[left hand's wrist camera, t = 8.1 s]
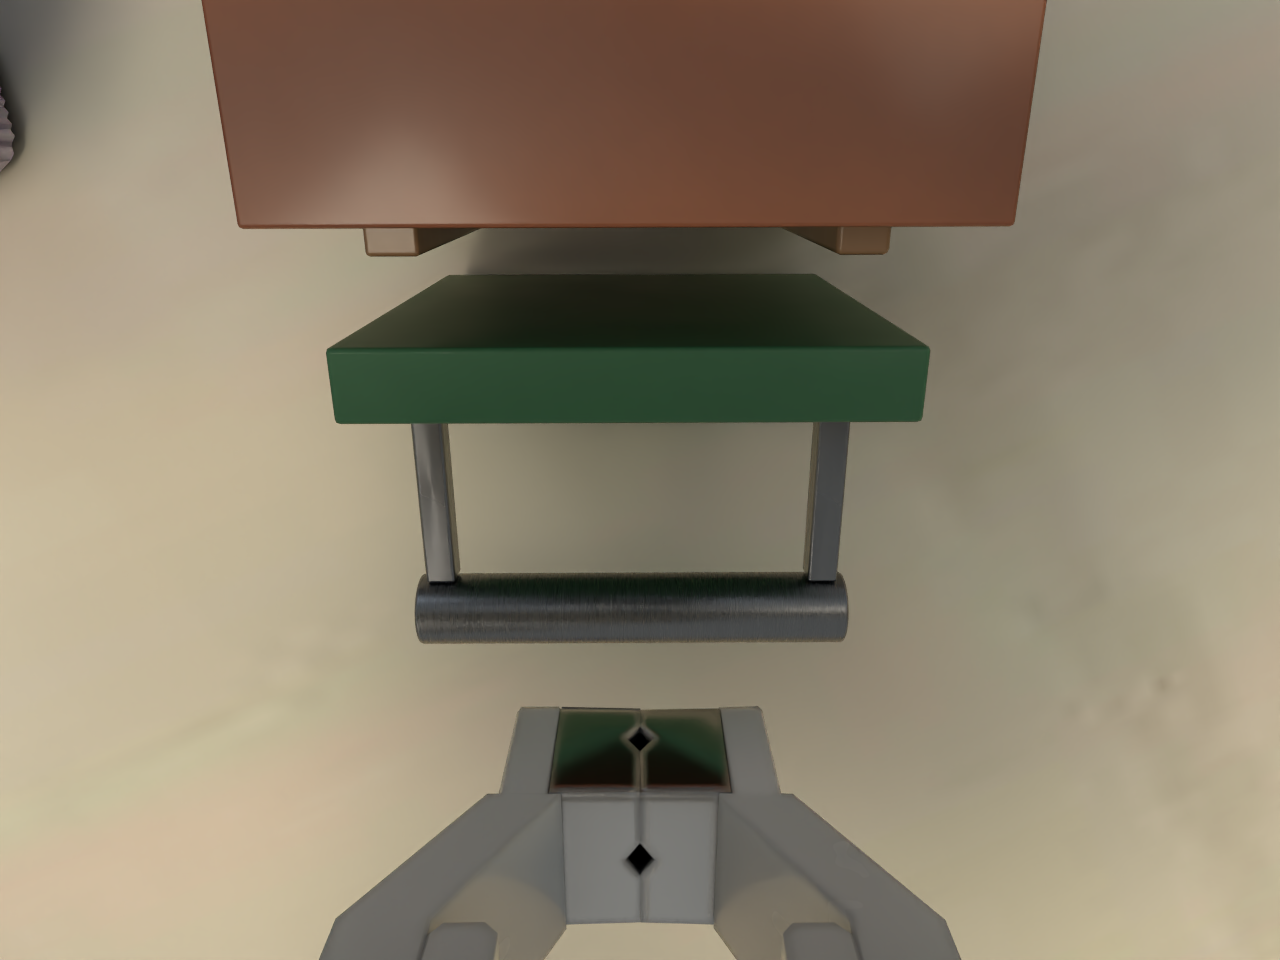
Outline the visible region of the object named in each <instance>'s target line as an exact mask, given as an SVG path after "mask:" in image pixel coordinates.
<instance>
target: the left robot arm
mask: <svg viewBox="0 0 1280 960" xmlns="http://www.w3.org/2000/svg"><path fill="white" fill-rule="evenodd" d="M629 922H649V923H684V924H714V929H715V930H716V932H717V933H718V934H719V936H720V937H721V939H722V940H723V941H724V943H725V944H726V946H727V947H728V948H729V950H730V951H731V952H732V954H733V955H734V957H735V958H736V959H737V960H961V958H960V955H959V953H958V950H957V948H956V945H955V943H954V940H953V938H952V936H951V933H950V931H949V928H948V926H947V923H946V921H945V919H943V918H942V917H941V916H940V915H939V914H937V913H936V912H935V911H934V910H933V909H931V908H930V907H929V906H928V905H926V904H925V903H924V902H923V901H922V900H920V899H919V898H918V897H917V896H916V895H914V894H913V893H912V892H911V891H910V890H908V889H907V888H906V887H905V886H904V885H902V884H901V883H900V882H899V881H898V880H896V879H895V878H894V877H893V876H891V875H890V874H889V873H888V872H887V871H885V870H884V869H883V868H882V867H881V866H879V865H878V864H877V863H876V862H875V861H873V860H872V859H871V858H870V857H869V856H867V855H866V854H865V853H864V852H863V851H861V850H860V849H859V848H858V847H856V846H855V845H854V844H853V843H852V842H850V841H849V840H848V839H847V838H846V837H844V836H843V835H842V834H841V833H840V832H838V831H837V830H836V829H835V828H834V827H832V826H831V825H830V824H829V823H828V822H826V821H825V820H824V819H823V818H822V817H820V816H819V815H818V814H817V813H815V812H814V811H813V810H812V809H811V808H809V807H808V806H807V805H806V804H805V803H803V802H802V801H801V800H800V799H799V798H797V797H796V796H795V795H794V794H781V791H780V787H779V782H778V778H777V774H776V769H775V765H774V761H773V756H772V752H771V748H770V743H769V739H768V734H767V730H766V726H765V721H764V717H763V713H762V710H761V709H760V708H759V707H758V706H753V707H723V708H719V709H651V710H640V709H632V708H585V707H562V709H561V708H559V707H521V709H520V710H519V711H518V713H517V716H516V721H515V725H514V729H513V734H512V738H511V743H510V747H509V751H508V756H507V760H506V765H505V769H504V774H503V778H502V782H501V787H500V791H499V794H486V795H485V796H484V797H483V798H481V799H480V800H479V801H478V802H477V803H475V804H474V805H473V806H472V807H471V808H469V809H468V810H467V811H466V812H464V813H463V814H462V815H461V816H460V817H458V818H457V819H456V820H455V821H454V822H452V823H451V824H450V825H449V826H448V827H446V828H445V829H444V830H443V831H441V832H440V833H439V834H438V835H437V836H435V837H434V838H433V839H432V840H431V841H429V842H428V843H427V844H426V845H424V846H423V847H422V848H421V849H420V850H418V851H417V852H416V853H415V854H414V855H412V856H411V857H410V858H409V859H408V860H406V861H405V862H404V863H403V864H401V865H400V866H399V867H398V868H397V869H395V870H394V871H393V872H392V873H391V874H389V875H388V876H387V877H386V878H384V879H383V880H382V881H381V882H380V883H378V884H377V885H376V886H375V887H374V888H372V889H371V890H370V891H369V892H367V893H366V894H365V895H364V896H363V897H361V898H360V899H359V900H358V901H357V902H355V903H354V904H353V905H352V906H351V907H349V908H348V909H347V910H346V911H344V912H343V913H342V914H341V915H340V916H338V917H337V918H336V919H335V922H334V924H333V927H332V929H331V932H330V934H329V936H328V939H327V941H326V944H325V946H324V949H323V951H322V953H321V956H320V958H319V960H544V959H545V957H546V956H547V955H548V953H549V952H550V951H551V949H552V948H553V946H554V945H555V944H556V942H557V941H558V940H559V938H560V937H561V935H562V934H563V933H564V931H565V930H566V924H595V923H629Z"/></svg>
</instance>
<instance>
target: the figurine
mask: <svg viewBox="0 0 1280 960" xmlns="http://www.w3.org/2000/svg"><path fill="white" fill-rule="evenodd" d="M0 92H1V87H0ZM4 103H5V100H4V98H3V97H2V96H1V95H0V172H1V171H2V169H3V168H4V167H5V166H6V165H7V164H8V163H9V162H10V161H11V159H12V157H13V154H14V152H13V149H12V142H13V139H14V137H15V135H14V134H13V133H12V131H11V127H12V123H11V122H10V121H9V120H8V119H7V116H8V113H9V112H8V111H7V110H6V109H5V108H4V107H3V106H4Z"/></svg>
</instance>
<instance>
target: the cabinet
mask: <svg viewBox="0 0 1280 960" xmlns="http://www.w3.org/2000/svg"><path fill="white" fill-rule="evenodd" d="M1046 2H1047V0H202V6H203V12H204V18H205V24H206V31H207V37H208V43H209V49H210V55H211V61H212V68H213V74H214V80H215V86H216V92H217V99H218V105H219V111H220V117H221V123H222V130H223V136H224V142H225V148H226V154H227V161H228V167H229V173H230V179H231V185H232V191H233V198H234V204H235V210H236V216H237V222H238V226H239V227H240V228H243V229H341V228H651V227H962V226H1011V225H1013V224H1014V222H1015V216H1016V209H1017V202H1018V195H1019V188H1020V181H1021V174H1022V167H1023V160H1024V153H1025V147H1026V140H1027V133H1028V126H1029V119H1030V112H1031V105H1032V98H1033V91H1034V85H1035V78H1036V71H1037V64H1038V57H1039V50H1040V43H1041V36H1042V29H1043V22H1044V16H1045V9H1046Z"/></svg>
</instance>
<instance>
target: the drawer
mask: <svg viewBox="0 0 1280 960" xmlns="http://www.w3.org/2000/svg"><path fill="white" fill-rule="evenodd" d="M781 228H783V229H786V230H788V231H790V232H792V233H794V234H796V235H799V236H801V237H803V238H805V239H807V240H809V241H812V242H814V243H816V244H818V245H820V246H822V247H825V248H827V249H829V250H831V251H833V252H835V253H838V254H840V255H883V254H885V253H887V252H888V250H889V245H890V234H891V227H781ZM478 229H480V228H363V233H364V242H365V251H366V254H367V255H368V256H418V255H420V254H423V253H425V252H427V251H430V250H432V249H434V248H437V247H439V246H441V245H444V244H446V243H448V242H450V241H453V240H455V239H457V238H460V237H462V236H464V235H467V234H469V233H471V232H474V231H476V230H478ZM326 356H327V364H328V371H329V379H330V386H331V393H332V401H333V408H334V416H335V421H336V423H339V424H411V429H412V439H413V449H414V459H415V469H416V478H417V488H418V498H419V508H420V518H421V528H422V538H423V548H424V558H425V567H426V574H424V575H423V576H422V577H421V579H420V581H419V584H418V587H417V592H416V599H415V626H416V632H417V636H418V639H419V641H420V642H421V643H424V644H464V643H695V642H841V641H843V640H844V638H845V636H846V632H847V627H848V596H847V589H846V585H845V581H844V579H843V576H842V575H841V573H839V572H837V568H838V556H839V545H840V533H841V522H842V510H843V499H844V487H845V476H846V464H847V453H848V441H849V430H850V422H917V421H921V419H922V416H923V408H924V399H925V391H926V382H927V374H928V365H929V357H930V348H929V347H928V346H927V345H925V344H924V343H922V342H921V341H919V340H917V339H916V338H914V337H913V336H911V335H910V334H908V333H906V332H905V331H903V330H902V329H900V328H899V327H897V326H895V325H894V324H892V323H891V322H889V321H888V320H886V319H884V318H883V317H881V316H880V315H878V314H877V313H875V312H873V311H872V310H870V309H869V308H867V307H866V306H864V305H862V304H861V303H859V302H858V301H856V300H855V299H853V298H851V297H850V296H848V295H847V294H845V293H844V292H842V291H840V290H839V289H837V288H836V287H834V286H833V285H831V284H829V283H828V282H826V281H825V280H823V279H822V278H820V277H818V276H817V275H815V274H666V275H449V276H446V277H445V278H443V279H442V280H440V281H438V282H437V283H435V284H433V285H432V286H430V287H428V288H427V289H425V290H423V291H422V292H420V293H419V294H417V295H415V296H414V297H412V298H410V299H409V300H407V301H405V302H404V303H402V304H400V305H399V306H397V307H396V308H394V309H392V310H391V311H389V312H387V313H386V314H384V315H382V316H381V317H379V318H377V319H376V320H374V321H372V322H371V323H369V324H368V325H366V326H364V327H363V328H361V329H359V330H358V331H356V332H354V333H353V334H351V335H349V336H348V337H346V338H345V339H343V340H341V341H340V342H338V343H336V344H335V345H333V346H331V347H330V348H328V349H327V351H326ZM722 422H813V435H812V449H811V463H810V477H809V491H808V505H807V519H806V533H805V547H804V561H803V569H804V572H689V573H459V571H460V560H459V549H458V537H457V525H456V514H455V502H454V490H453V478H452V467H451V455H450V443H449V432H448V424H455V423H722Z"/></svg>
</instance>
